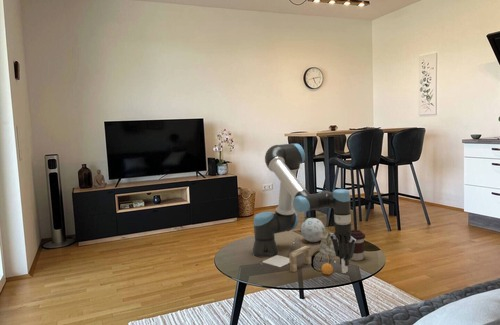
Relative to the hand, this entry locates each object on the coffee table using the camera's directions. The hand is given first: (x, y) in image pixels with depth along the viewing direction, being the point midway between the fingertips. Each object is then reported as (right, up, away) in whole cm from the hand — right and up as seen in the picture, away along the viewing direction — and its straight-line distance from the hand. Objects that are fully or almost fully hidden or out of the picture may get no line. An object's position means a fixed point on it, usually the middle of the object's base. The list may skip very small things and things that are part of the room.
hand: (344, 271), depth 174 cm
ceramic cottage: (+4, 0, +39) cm, 40 cm away
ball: (-7, -1, +7) cm, 10 cm away
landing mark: (-29, -3, +29) cm, 41 cm away
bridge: (-18, -3, +18) cm, 26 cm away
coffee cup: (+13, -1, +26) cm, 29 cm away
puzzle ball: (-5, +1, +59) cm, 60 cm away
